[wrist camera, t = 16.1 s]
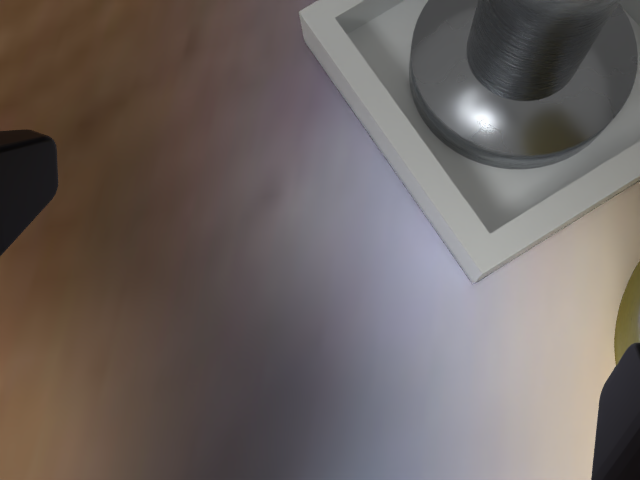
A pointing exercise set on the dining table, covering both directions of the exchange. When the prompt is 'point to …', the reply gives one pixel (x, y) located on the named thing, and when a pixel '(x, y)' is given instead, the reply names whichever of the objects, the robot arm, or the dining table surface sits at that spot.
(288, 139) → the dining table surface
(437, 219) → the tray
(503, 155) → the steel stop
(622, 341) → the flower pot
